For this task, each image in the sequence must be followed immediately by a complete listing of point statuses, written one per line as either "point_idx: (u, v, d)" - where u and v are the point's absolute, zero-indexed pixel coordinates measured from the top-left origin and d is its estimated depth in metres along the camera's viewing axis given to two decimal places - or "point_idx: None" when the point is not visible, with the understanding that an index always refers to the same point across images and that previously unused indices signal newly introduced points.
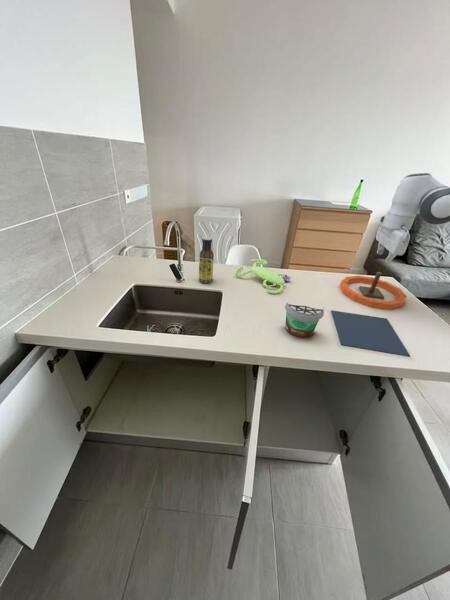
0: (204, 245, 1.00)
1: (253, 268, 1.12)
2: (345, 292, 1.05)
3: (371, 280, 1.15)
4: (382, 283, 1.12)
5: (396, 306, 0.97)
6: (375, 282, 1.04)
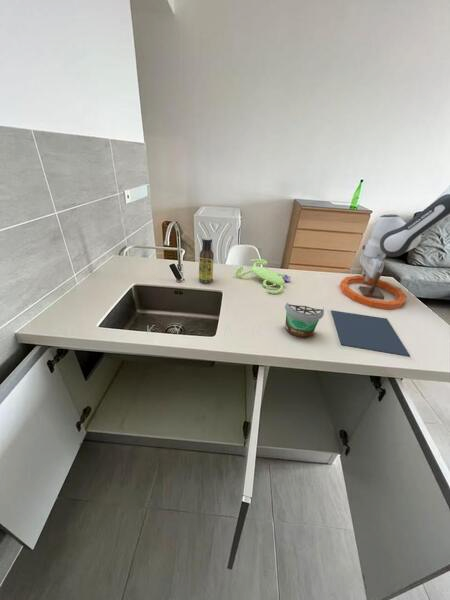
0: (204, 245, 1.00)
1: (253, 268, 1.12)
2: (345, 292, 1.05)
3: (371, 280, 1.15)
4: (382, 283, 1.12)
5: (396, 306, 0.97)
6: (375, 282, 1.04)
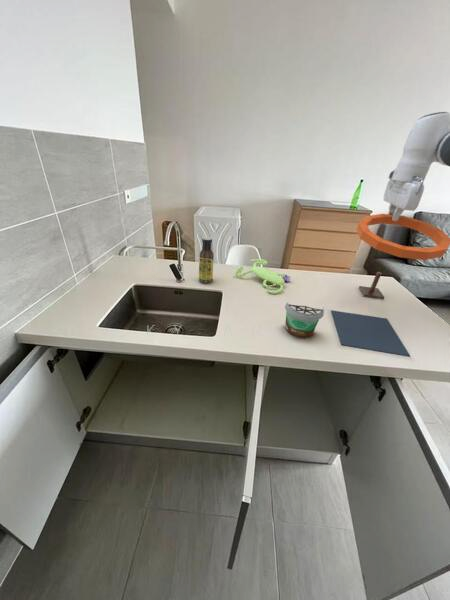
0: (204, 245, 1.00)
1: (253, 268, 1.12)
2: (364, 237, 0.77)
3: (401, 219, 0.84)
4: (416, 223, 0.82)
5: (436, 255, 0.69)
6: (375, 282, 1.04)
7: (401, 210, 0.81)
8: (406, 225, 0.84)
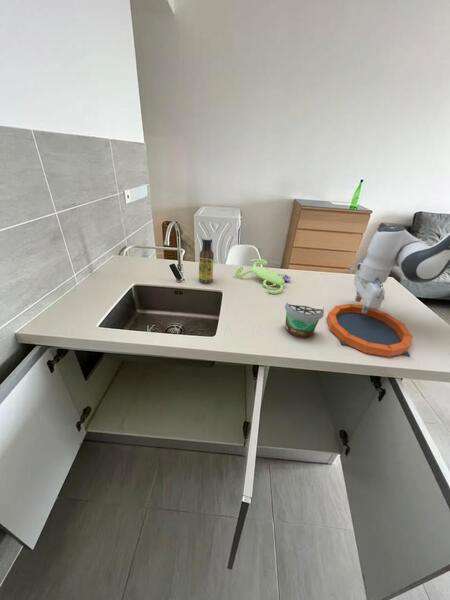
0: (204, 245, 1.00)
1: (253, 268, 1.12)
2: (333, 329, 0.81)
3: None
4: (381, 315, 0.89)
5: (399, 352, 0.73)
6: None
7: None
8: (372, 315, 0.91)
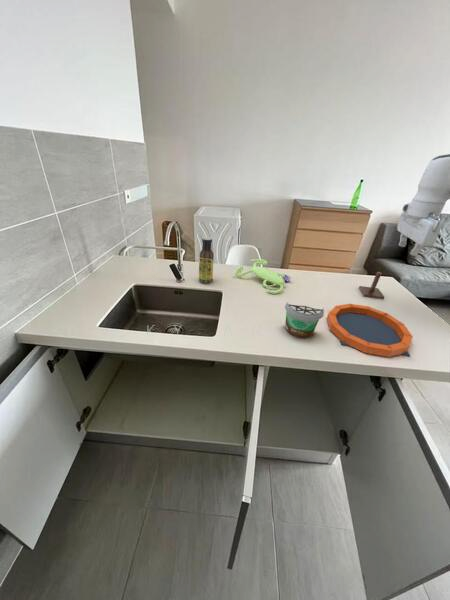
0: (204, 245, 1.00)
1: (253, 268, 1.12)
2: (333, 329, 0.81)
3: (367, 310, 0.91)
4: (381, 315, 0.89)
5: (399, 352, 0.73)
6: (375, 282, 1.04)
7: (421, 246, 0.80)
8: (372, 315, 0.91)
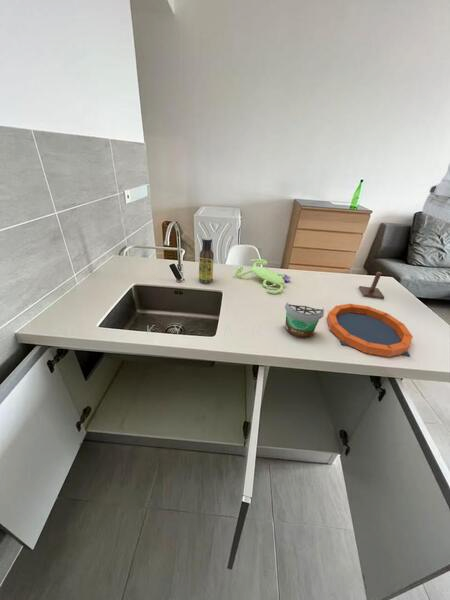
0: (204, 245, 1.00)
1: (253, 268, 1.12)
2: (333, 329, 0.81)
3: (367, 310, 0.91)
4: (381, 315, 0.89)
5: (399, 352, 0.73)
6: (375, 282, 1.04)
7: (449, 225, 0.83)
8: (372, 315, 0.91)
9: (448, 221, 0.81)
